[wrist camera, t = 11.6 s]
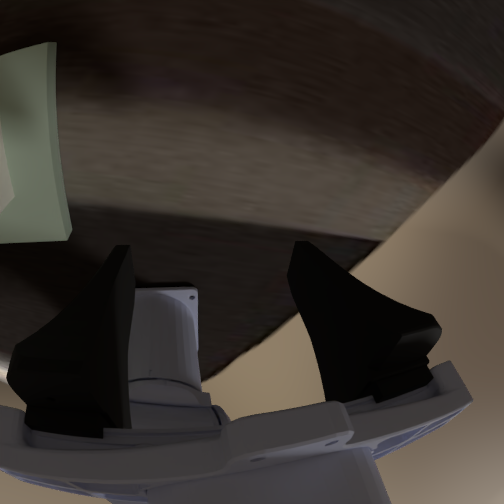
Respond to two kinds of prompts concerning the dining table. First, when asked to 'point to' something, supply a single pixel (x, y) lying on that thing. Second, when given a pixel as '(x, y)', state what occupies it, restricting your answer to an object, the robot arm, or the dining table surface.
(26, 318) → the dining table surface
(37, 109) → the stand board
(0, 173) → the block
